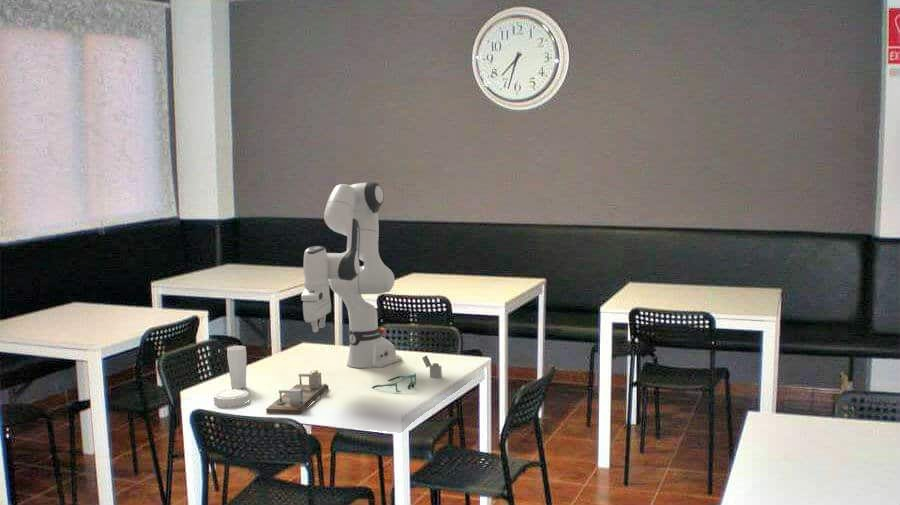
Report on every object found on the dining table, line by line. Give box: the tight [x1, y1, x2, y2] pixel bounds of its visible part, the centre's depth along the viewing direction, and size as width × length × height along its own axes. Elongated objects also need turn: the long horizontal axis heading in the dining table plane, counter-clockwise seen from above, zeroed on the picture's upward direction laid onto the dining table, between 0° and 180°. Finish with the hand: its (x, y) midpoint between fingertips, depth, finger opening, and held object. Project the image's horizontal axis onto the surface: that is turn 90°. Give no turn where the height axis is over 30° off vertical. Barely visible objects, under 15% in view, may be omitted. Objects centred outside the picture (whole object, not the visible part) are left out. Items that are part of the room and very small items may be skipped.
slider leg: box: [298, 370, 323, 388], centre depth 354 cm, size 3×8×6 cm, turn 79°
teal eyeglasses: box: [371, 373, 417, 393], centre depth 359 cm, size 14×15×5 cm
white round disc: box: [213, 388, 250, 408], centre depth 345 cm, size 12×12×4 cm
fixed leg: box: [278, 383, 328, 409], centre depth 343 cm, size 28×9×5 cm, turn 169°
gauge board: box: [265, 383, 329, 415], centre depth 344 cm, size 30×12×2 cm, turn 169°
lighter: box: [421, 355, 443, 379], centre depth 369 cm, size 7×2×8 cm, turn 69°
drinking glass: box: [226, 345, 248, 389], centre depth 362 cm, size 7×7×15 cm
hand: (318, 329), depth 358 cm, fingers open, 6 cm apart
